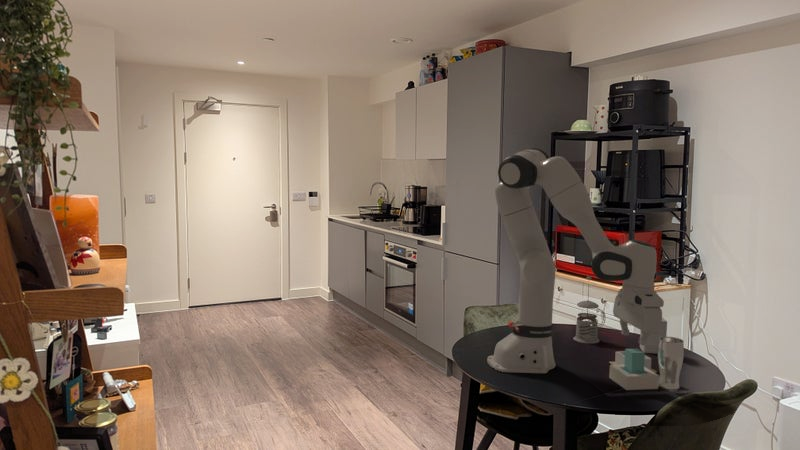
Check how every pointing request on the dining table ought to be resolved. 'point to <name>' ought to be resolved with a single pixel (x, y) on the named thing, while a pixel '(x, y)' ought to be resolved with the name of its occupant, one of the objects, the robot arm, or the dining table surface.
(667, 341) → the beer glass
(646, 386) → the port block
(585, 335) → the french press
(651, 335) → the supplement box
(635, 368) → the plug
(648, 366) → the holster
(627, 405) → the dining table surface
